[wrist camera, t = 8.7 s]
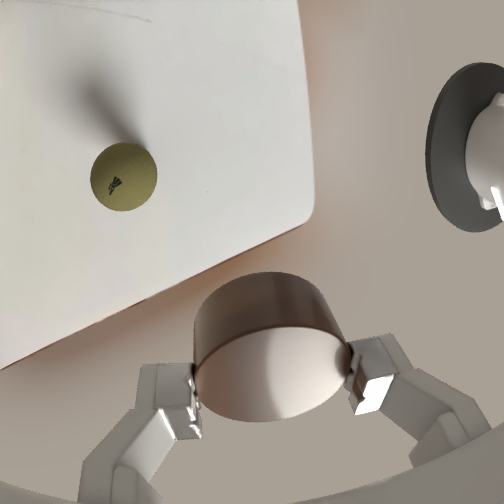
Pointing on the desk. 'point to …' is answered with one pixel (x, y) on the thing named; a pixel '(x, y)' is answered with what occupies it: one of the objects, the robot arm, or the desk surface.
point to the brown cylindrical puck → (267, 348)
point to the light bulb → (123, 176)
